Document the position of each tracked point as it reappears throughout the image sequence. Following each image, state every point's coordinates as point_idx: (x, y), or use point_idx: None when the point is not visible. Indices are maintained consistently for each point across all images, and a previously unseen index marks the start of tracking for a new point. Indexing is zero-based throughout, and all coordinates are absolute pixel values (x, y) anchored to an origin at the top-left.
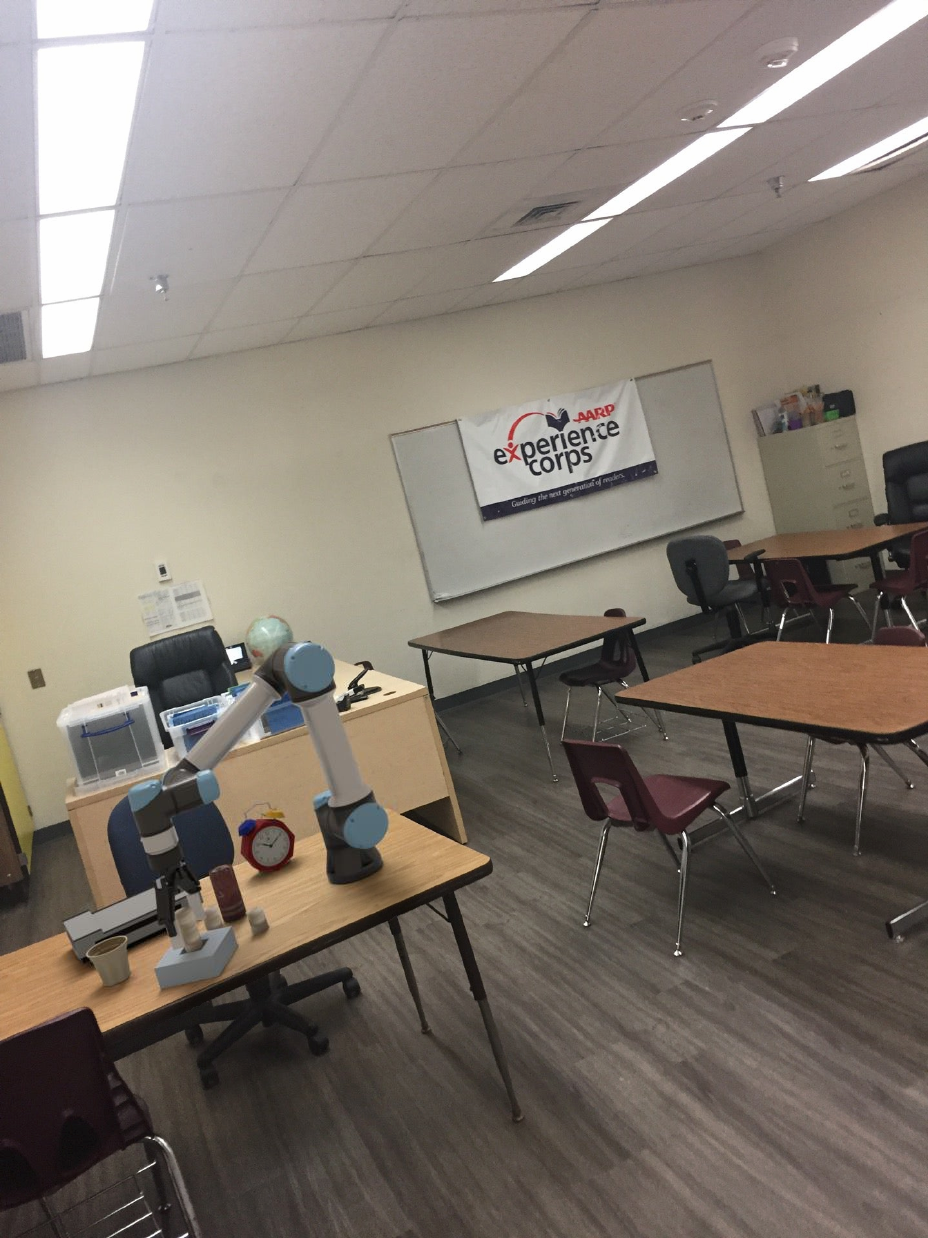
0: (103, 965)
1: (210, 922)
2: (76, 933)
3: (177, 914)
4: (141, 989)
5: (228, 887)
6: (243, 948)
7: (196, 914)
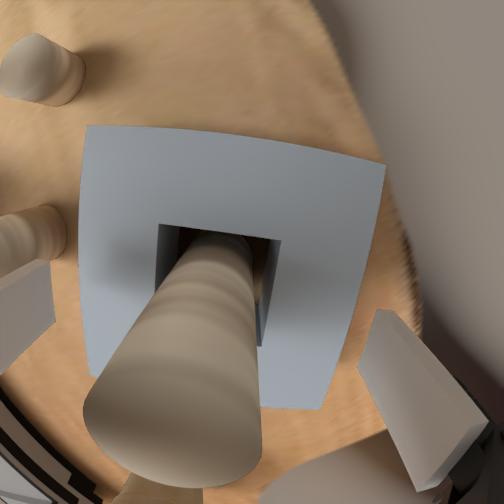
0: None
1: (19, 252)
2: None
3: (236, 471)
4: (265, 413)
5: None
6: (167, 102)
7: (32, 315)
